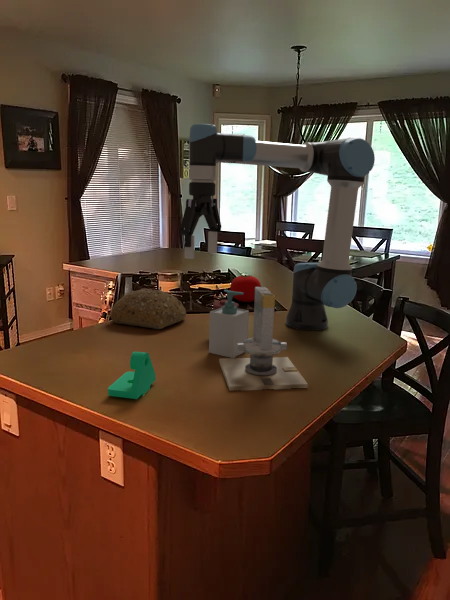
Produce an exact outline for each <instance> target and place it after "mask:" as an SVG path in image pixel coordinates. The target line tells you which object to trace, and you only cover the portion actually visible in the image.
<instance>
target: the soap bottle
mask: <svg viewBox="0 0 450 600" xmlns="http://www.w3.org/2000/svg"><path fill="white" fill-rule="evenodd" d="M223 292H224V293H226V297H227V300H228V301H226V302H225V306H223V307H222V308H219V309H216V310H213V309H212V310H211V311H209V329H208V331H209V333H208V334H209V335H208V336H209V338H208V353H210V354H213V355H216V356H217V355H218V356H223V357H225V358H237V357H238V356H240V355H242V354H244V353H245V352H244V351H238V350H237V343H243V341H244V340H246V339H248V338H249V337H248V336H249V314H250V313H249V312H250V311H249V309H242V308H239V309H238V308H237V307H236V306H235V303H236V302H235V301H233V298H234V297H233V295H243V294H244V293H242V292H235V291H230V289H229V290H228V289H224V290H223ZM234 302H235V303H234Z"/></svg>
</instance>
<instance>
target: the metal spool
mask: <svg viewBox="0 0 450 600" xmlns="http://www.w3.org/2000/svg"><path fill="white" fill-rule="evenodd" d="M249 355H250V354H249ZM273 357H274V356H255V355H250V357H249V358H250V364H247V365H246V366H245V371H246V372H247V373H249V374H251V375H254V376H271V375H274V374H275V373H276V372H277V368H276V366H274V365H272V363H273Z"/></svg>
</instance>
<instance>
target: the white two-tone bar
mask: <svg viewBox="0 0 450 600" xmlns="http://www.w3.org/2000/svg"><path fill="white" fill-rule="evenodd" d="M253 302H254V304H253V305H254V306H253V307H254V309H253V325H252V326H253V329H252V331H253V332H252V337H248V339H246V340H244V341H243V343H237V350H238V351H244V353H245V354H248V355H255V356H273V357H274V356H277V355H279V354H280V353H281V351H287V350H288V349H287V348H288V344H287V342H286V341H285V342H284V341H280V340H278V339H275V338H274V337H273V336H274V319H275V318H274V317H275V304H276V295H274V294H273V293H272V291H270V290H269V289H268V288H267V287H266V286H261V287H255V301H253Z"/></svg>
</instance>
